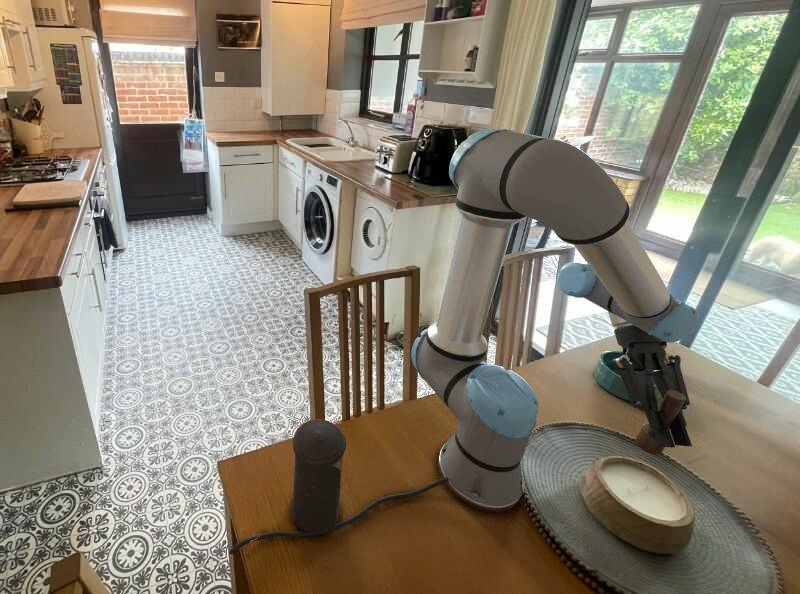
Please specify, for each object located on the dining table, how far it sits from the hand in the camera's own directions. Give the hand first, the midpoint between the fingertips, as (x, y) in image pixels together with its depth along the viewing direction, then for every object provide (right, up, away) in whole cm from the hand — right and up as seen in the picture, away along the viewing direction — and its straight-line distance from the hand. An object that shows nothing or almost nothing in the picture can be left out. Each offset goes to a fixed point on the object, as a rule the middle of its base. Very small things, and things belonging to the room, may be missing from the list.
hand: (675, 445), depth 79 cm
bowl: (+11, +4, +25) cm, 28 cm away
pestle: (0, -3, +5) cm, 6 cm away
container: (-70, -10, -5) cm, 71 cm away
